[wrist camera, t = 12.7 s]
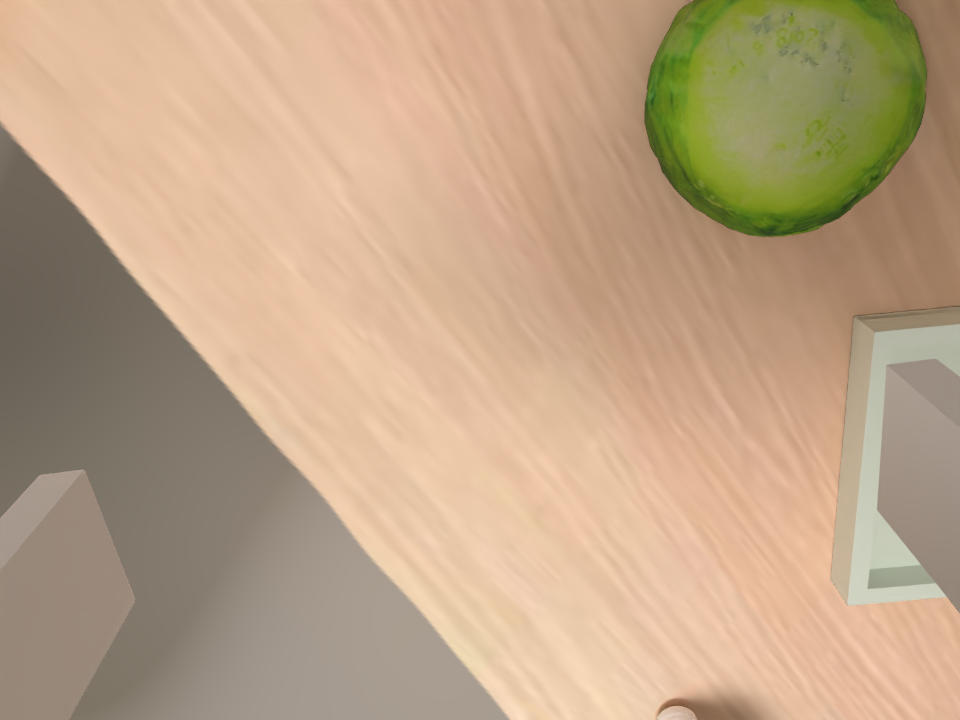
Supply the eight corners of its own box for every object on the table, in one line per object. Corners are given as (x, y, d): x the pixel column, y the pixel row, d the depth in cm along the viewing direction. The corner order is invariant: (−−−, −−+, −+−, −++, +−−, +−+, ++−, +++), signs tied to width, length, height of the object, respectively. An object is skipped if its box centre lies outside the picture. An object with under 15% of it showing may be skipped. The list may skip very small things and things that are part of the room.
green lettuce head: (944, 96, 36) (1012, 106, 32) (756, 271, 39) (794, 304, 35) (779, -102, 33) (829, -122, 29) (590, 104, 36) (607, 116, 32)
